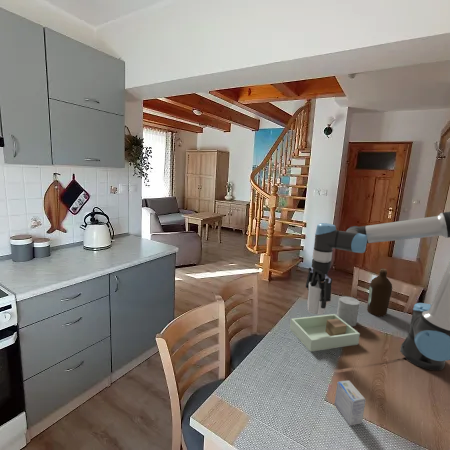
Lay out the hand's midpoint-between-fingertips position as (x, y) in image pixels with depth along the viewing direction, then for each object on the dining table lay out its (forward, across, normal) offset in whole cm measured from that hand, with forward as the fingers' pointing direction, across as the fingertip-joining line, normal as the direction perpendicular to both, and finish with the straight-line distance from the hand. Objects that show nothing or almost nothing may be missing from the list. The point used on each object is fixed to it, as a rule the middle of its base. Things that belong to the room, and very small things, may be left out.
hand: (315, 309), depth 121 cm
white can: (+15, +9, -26) cm, 31 cm away
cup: (+1, 0, 0) cm, 1 cm away
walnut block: (+14, 0, -12) cm, 18 cm away
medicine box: (+15, -37, +11) cm, 41 cm away
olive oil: (+15, +15, -51) cm, 55 cm away
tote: (+15, 0, -6) cm, 16 cm away
